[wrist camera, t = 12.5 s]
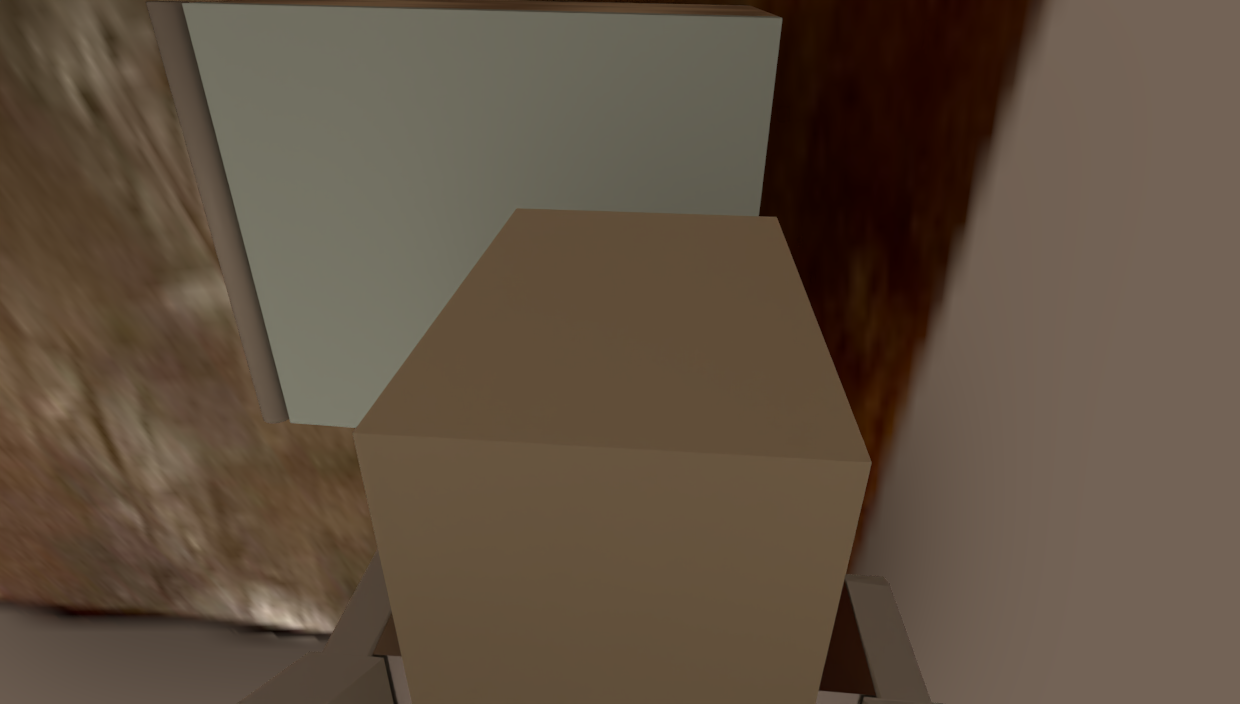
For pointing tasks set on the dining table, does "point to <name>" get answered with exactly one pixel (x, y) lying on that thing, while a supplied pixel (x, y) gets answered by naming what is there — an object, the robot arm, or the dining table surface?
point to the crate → (537, 6)
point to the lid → (435, 157)
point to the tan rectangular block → (617, 470)
